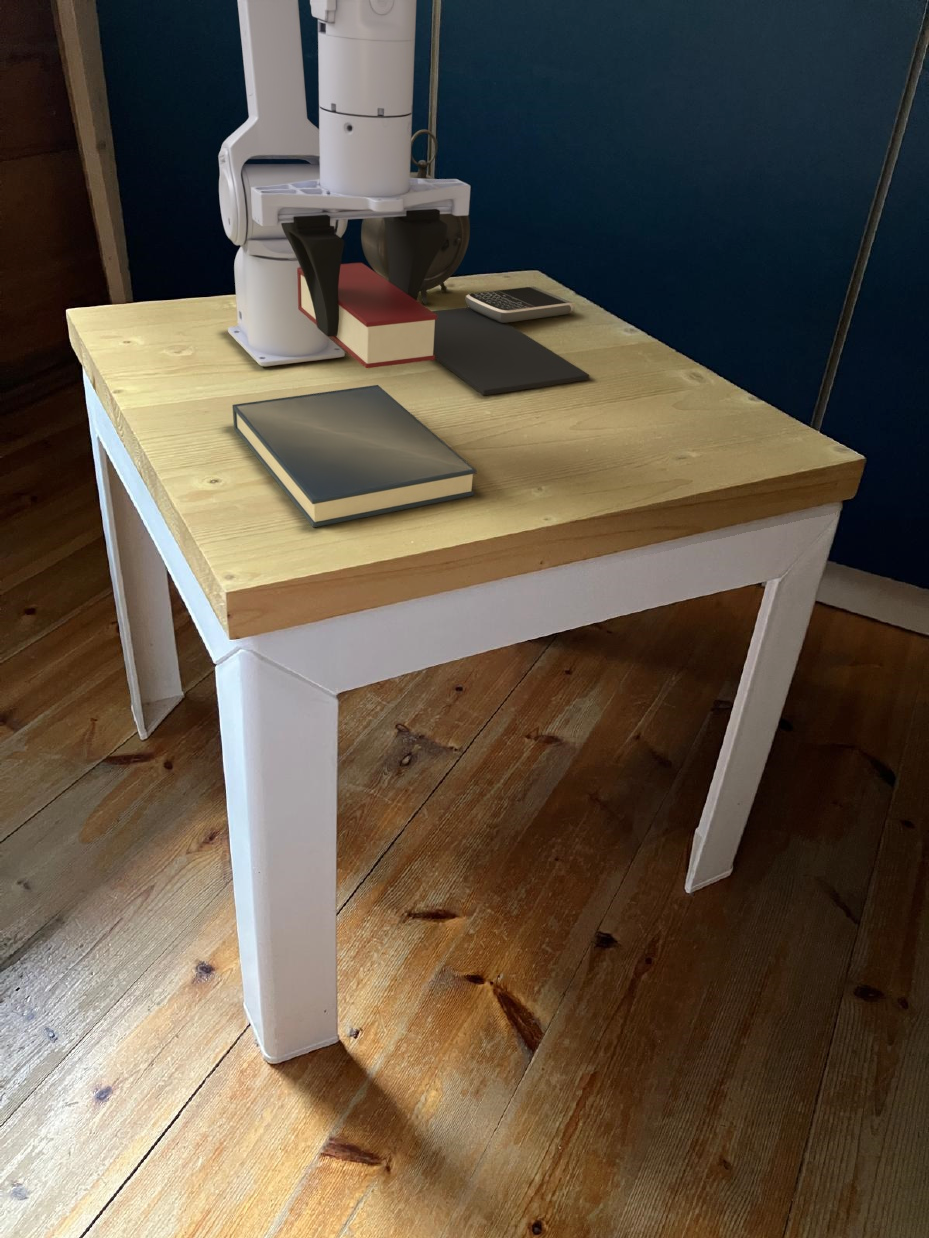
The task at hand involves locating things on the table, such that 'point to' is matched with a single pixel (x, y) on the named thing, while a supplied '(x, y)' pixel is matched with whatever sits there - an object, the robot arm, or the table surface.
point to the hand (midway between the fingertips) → (363, 327)
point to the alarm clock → (447, 255)
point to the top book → (376, 319)
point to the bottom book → (351, 454)
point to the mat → (496, 354)
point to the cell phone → (518, 304)
